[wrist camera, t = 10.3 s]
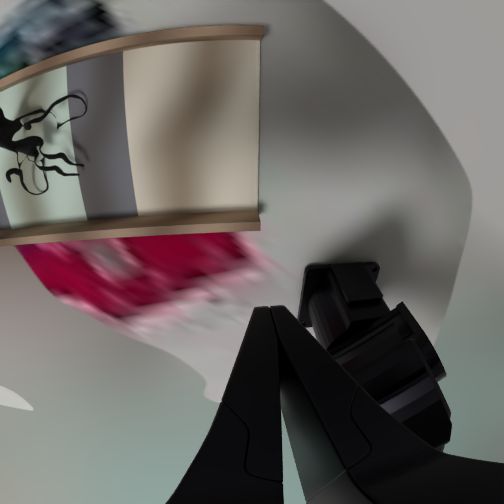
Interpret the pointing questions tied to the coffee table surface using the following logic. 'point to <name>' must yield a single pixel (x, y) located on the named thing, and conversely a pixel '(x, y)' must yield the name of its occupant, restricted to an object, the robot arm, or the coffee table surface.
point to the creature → (32, 142)
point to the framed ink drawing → (138, 138)
